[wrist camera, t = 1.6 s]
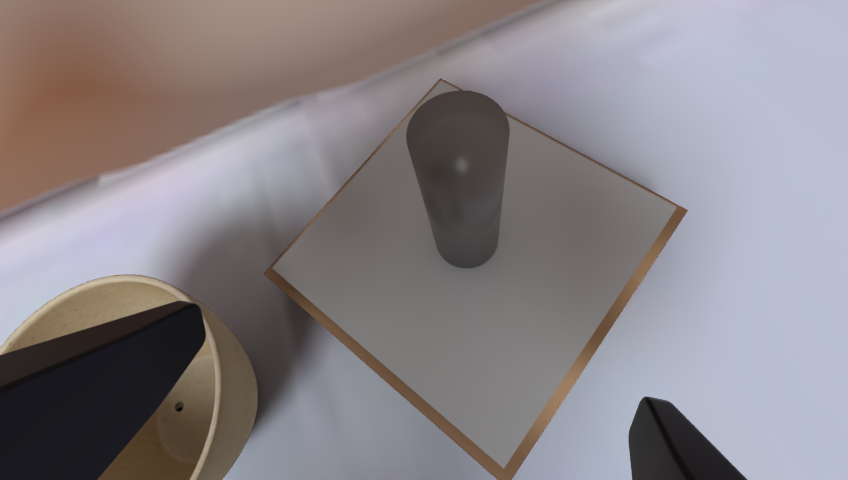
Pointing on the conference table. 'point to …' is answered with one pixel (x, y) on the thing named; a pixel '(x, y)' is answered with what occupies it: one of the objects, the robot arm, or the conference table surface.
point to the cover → (475, 261)
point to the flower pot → (195, 390)
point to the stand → (563, 389)
